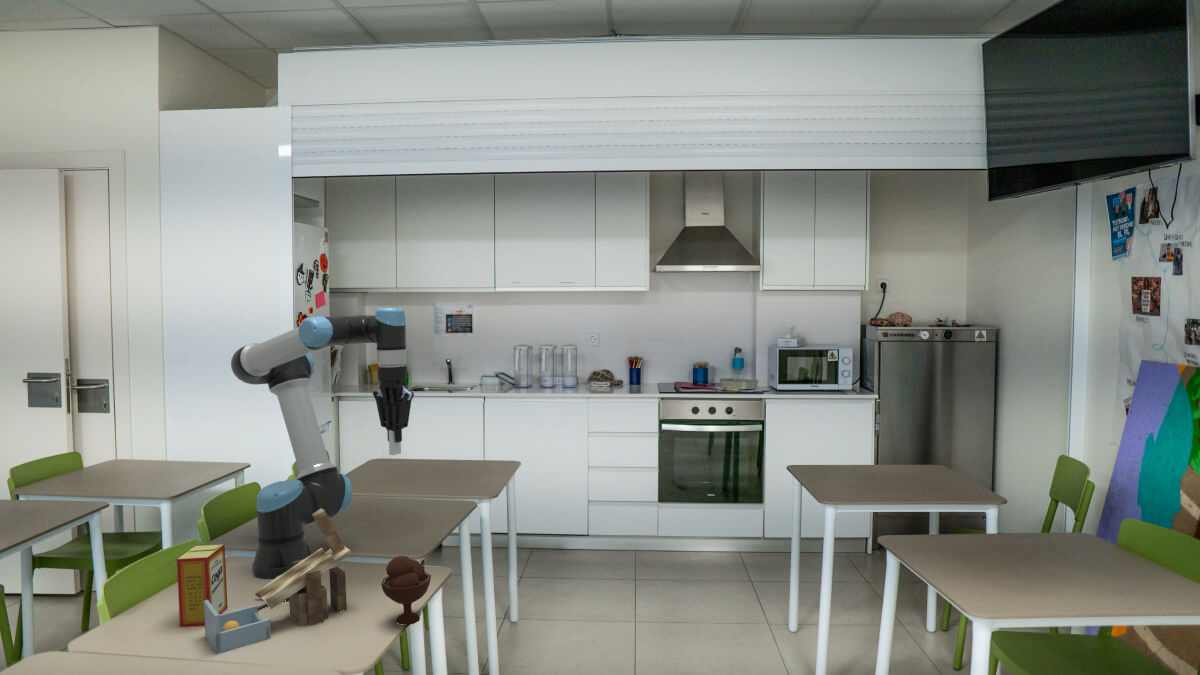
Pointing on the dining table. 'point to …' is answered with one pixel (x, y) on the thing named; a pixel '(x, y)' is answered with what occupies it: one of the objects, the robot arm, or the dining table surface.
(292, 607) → the stand
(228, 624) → the ball
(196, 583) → the baking soda box
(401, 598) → the ice cream bowl
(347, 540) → the dining table surface
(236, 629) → the bin
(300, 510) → the robot arm
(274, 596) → the lever
